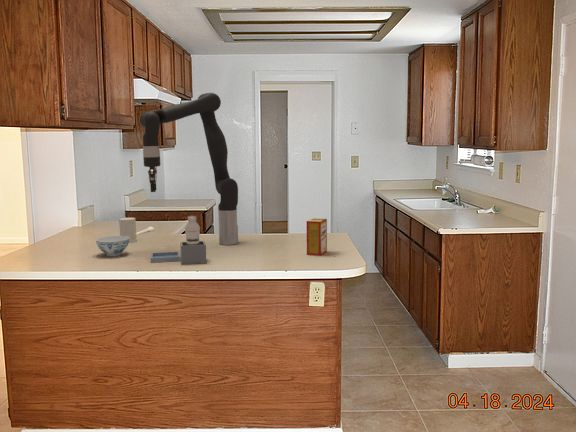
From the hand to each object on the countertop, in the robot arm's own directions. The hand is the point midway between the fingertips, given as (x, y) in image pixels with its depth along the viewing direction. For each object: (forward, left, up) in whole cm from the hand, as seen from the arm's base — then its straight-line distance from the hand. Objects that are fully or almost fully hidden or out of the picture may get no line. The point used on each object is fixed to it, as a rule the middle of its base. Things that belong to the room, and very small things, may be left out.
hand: (153, 191), depth 273 cm
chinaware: (+20, 0, -29) cm, 35 cm away
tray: (-4, +16, -29) cm, 33 cm away
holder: (-16, +24, -29) cm, 41 cm away
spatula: (+9, -53, -30) cm, 62 cm away
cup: (+15, -33, -29) cm, 47 cm away
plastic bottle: (-16, +24, -29) cm, 41 cm away
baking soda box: (-72, +22, -29) cm, 81 cm away
